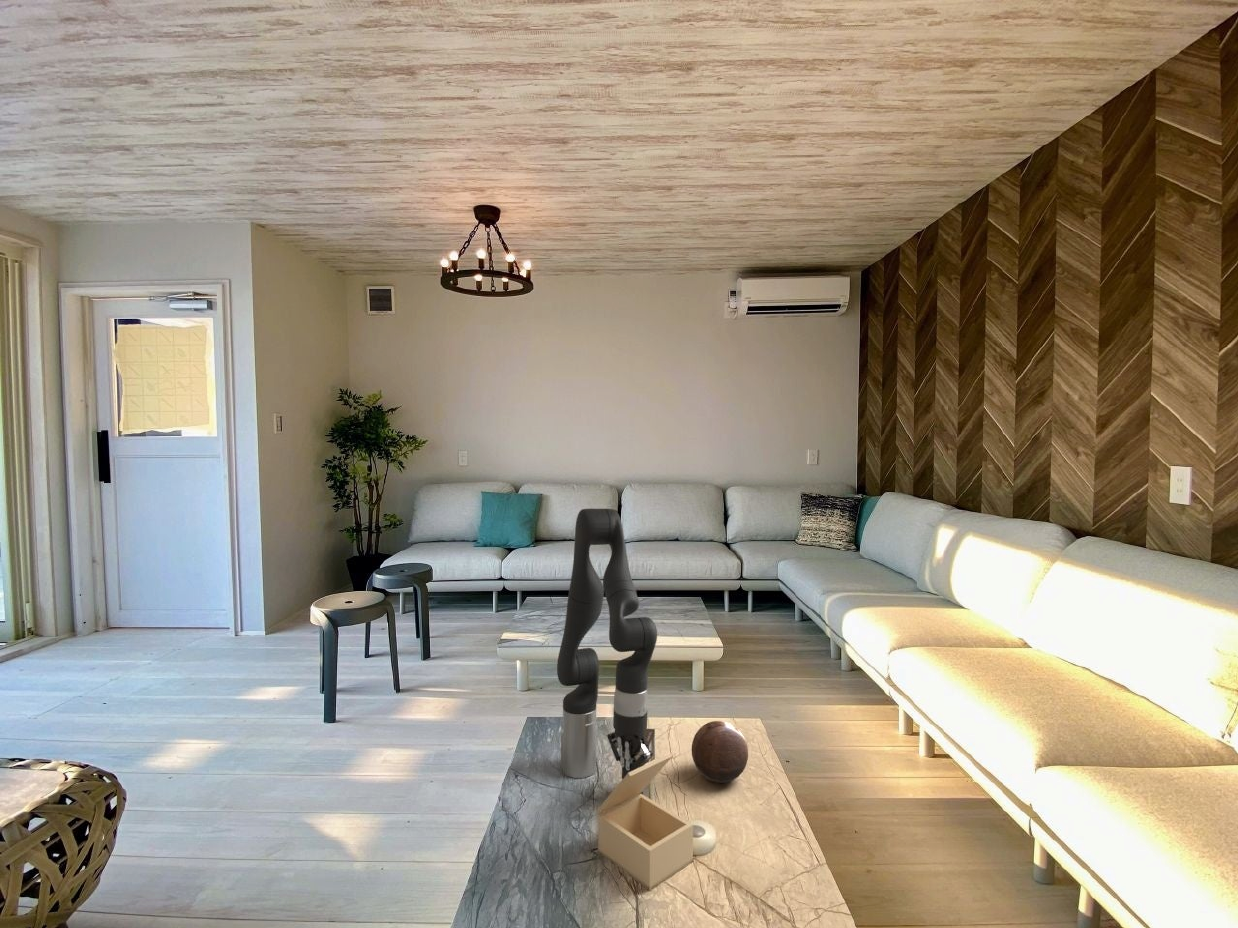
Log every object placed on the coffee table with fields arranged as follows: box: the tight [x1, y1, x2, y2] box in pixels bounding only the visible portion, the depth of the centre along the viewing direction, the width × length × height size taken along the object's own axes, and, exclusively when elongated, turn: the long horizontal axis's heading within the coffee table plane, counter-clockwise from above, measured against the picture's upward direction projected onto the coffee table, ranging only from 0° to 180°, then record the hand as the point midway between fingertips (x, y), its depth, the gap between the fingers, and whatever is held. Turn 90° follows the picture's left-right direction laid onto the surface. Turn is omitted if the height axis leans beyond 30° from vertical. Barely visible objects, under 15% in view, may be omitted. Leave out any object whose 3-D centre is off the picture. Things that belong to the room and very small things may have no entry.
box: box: [597, 794, 694, 891], centre depth 132 cm, size 16×13×8 cm
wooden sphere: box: [691, 720, 749, 784], centre depth 164 cm, size 15×15×15 cm
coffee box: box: [624, 728, 656, 802], centre depth 154 cm, size 9×6×16 cm
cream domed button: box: [685, 819, 717, 856], centre depth 137 cm, size 9×9×2 cm
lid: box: [596, 752, 674, 815], centre depth 134 cm, size 16×13×1 cm
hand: (628, 783), depth 135 cm, fingers closed
